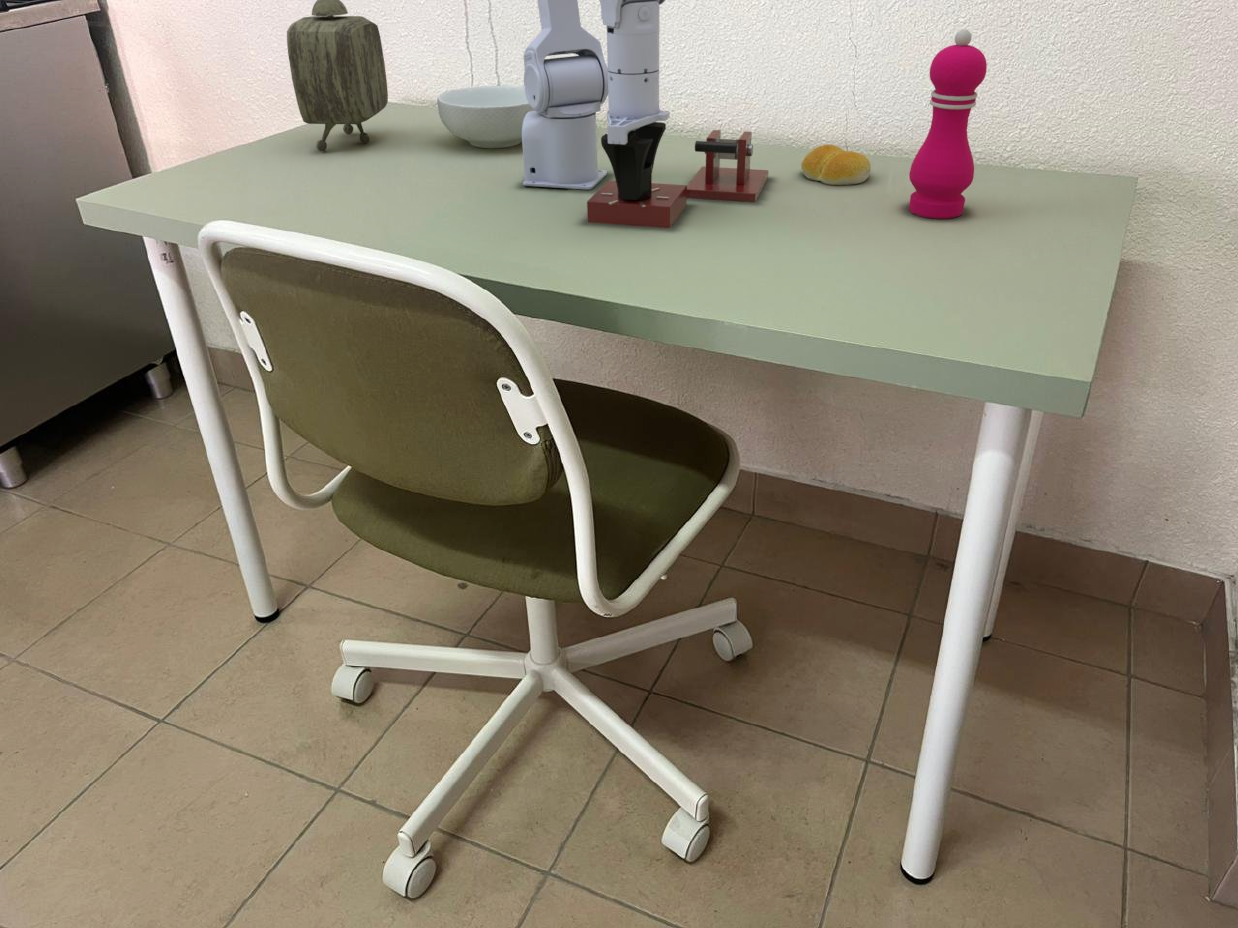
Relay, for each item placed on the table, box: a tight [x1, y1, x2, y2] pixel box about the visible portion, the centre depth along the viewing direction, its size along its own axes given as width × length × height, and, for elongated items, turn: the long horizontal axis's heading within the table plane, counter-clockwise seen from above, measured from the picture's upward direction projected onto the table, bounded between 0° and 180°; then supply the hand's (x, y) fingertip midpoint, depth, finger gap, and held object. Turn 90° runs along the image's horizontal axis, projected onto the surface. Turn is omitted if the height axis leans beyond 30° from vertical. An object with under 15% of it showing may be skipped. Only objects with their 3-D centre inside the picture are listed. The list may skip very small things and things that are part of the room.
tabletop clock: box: [286, 0, 389, 152], centre depth 142 cm, size 14×9×25 cm, turn 172°
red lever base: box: [686, 129, 769, 203], centre depth 122 cm, size 11×9×7 cm
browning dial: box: [618, 162, 653, 201], centre depth 112 cm, size 4×4×4 cm
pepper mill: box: [908, 29, 988, 220], centre depth 109 cm, size 7×7×20 cm
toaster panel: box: [586, 180, 688, 229], centre depth 114 cm, size 10×10×3 cm
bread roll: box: [800, 144, 872, 186], centre depth 126 cm, size 8×9×4 cm
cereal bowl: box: [436, 85, 535, 149], centre depth 145 cm, size 17×17×7 cm
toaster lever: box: [694, 138, 739, 161], centre depth 118 cm, size 11×5×2 cm, turn 164°
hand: (634, 193), depth 113 cm, fingers closed on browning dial, 4 cm apart
